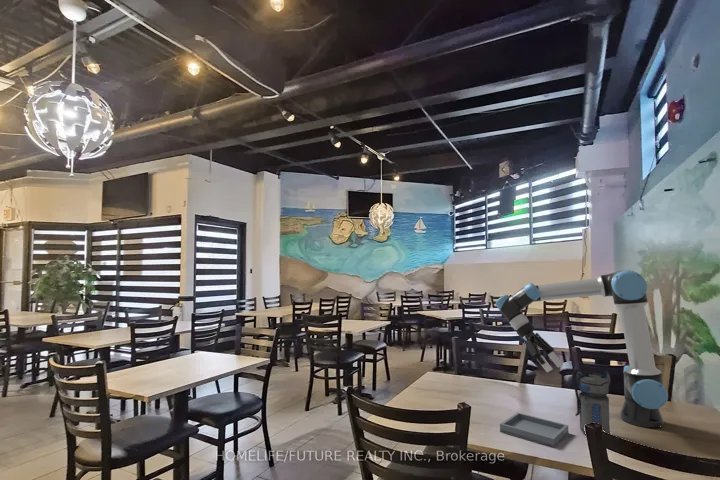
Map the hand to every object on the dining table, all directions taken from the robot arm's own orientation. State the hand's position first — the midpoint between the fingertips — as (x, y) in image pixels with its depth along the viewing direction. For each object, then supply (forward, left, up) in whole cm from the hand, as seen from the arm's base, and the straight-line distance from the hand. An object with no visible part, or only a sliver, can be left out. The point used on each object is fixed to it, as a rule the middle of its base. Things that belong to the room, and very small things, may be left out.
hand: (555, 368), depth 169 cm
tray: (+4, +16, -23) cm, 28 cm away
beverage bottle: (-13, +1, -23) cm, 27 cm away
